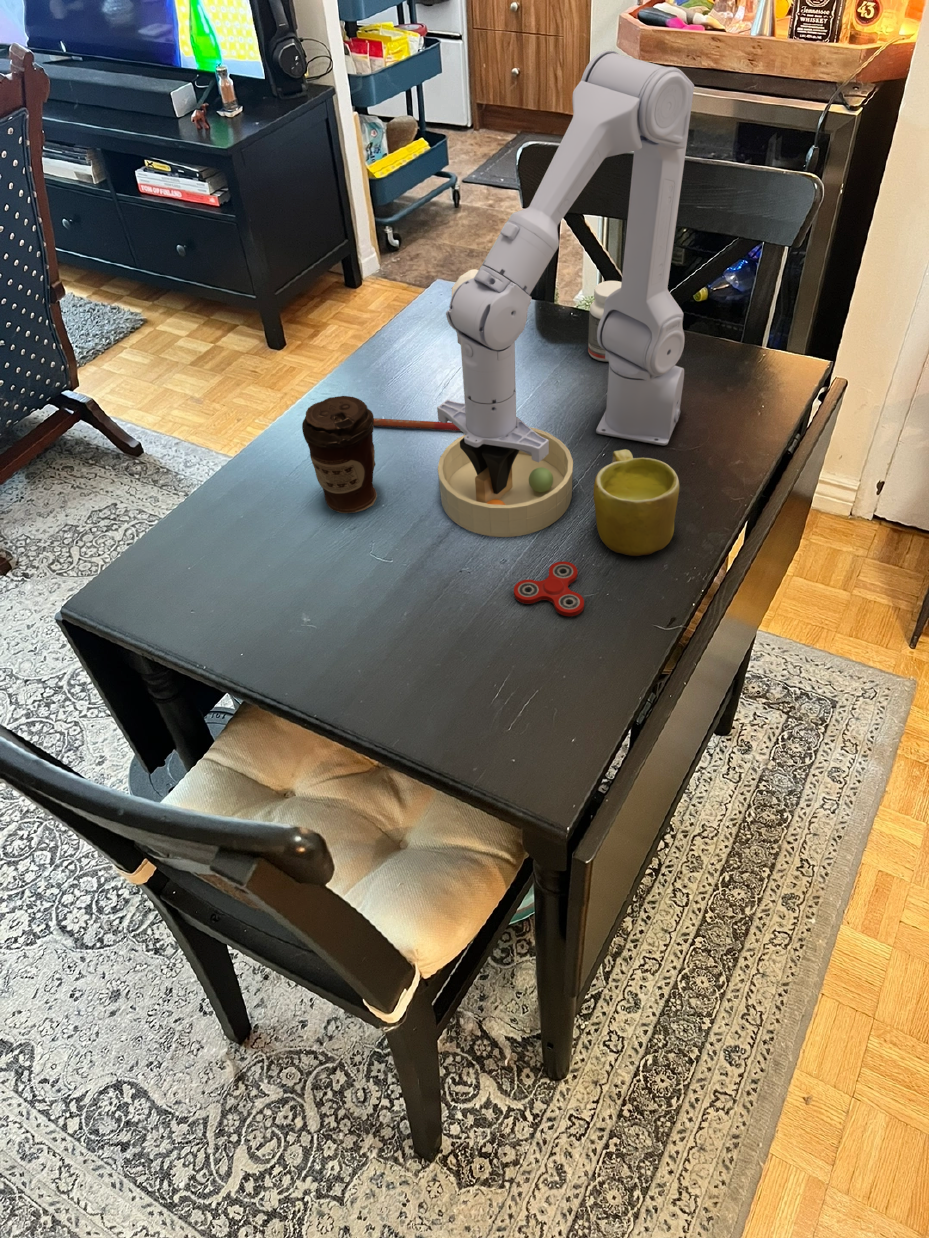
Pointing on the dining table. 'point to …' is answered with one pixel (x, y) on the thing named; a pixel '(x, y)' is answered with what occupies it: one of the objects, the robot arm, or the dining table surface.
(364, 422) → the coffee cup
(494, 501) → the orange bead
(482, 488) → the brown block
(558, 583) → the fidget spinner
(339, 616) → the dining table surface
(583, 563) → the dining table surface
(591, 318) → the pill bottle
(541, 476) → the green bead
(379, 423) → the pencil
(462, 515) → the bowl
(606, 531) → the mug
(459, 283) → the ball
